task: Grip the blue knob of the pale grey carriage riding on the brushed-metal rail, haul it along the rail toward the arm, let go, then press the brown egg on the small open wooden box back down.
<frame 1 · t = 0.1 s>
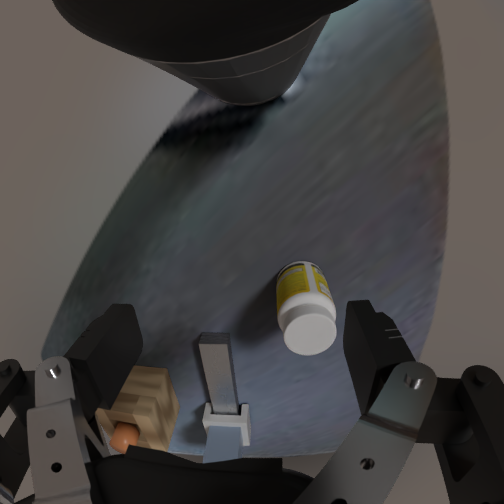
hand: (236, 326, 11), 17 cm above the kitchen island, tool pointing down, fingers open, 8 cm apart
rail: (224, 387, 36), on the kitchen island
carriage: (225, 442, 34), point 5 cm above the kitchen island, slide at 6.0 cm
supplement bottle: (300, 281, 30), on the kitchen island
open wooden box: (146, 386, 37), on the kitchen island
brown egg: (125, 438, 28), point 9 cm above the kitchen island, slide at 2.5 cm
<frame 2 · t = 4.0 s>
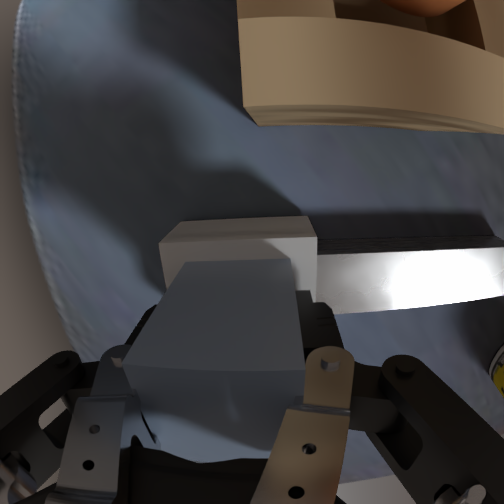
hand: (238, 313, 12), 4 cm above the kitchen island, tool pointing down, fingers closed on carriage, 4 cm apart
rail: (363, 266, 15), on the kitchen island
carriage: (237, 325, 11), point 5 cm above the kitchen island, slide at 6.0 cm, touching gripper
open wooden box: (339, 46, 11), on the kitchen island
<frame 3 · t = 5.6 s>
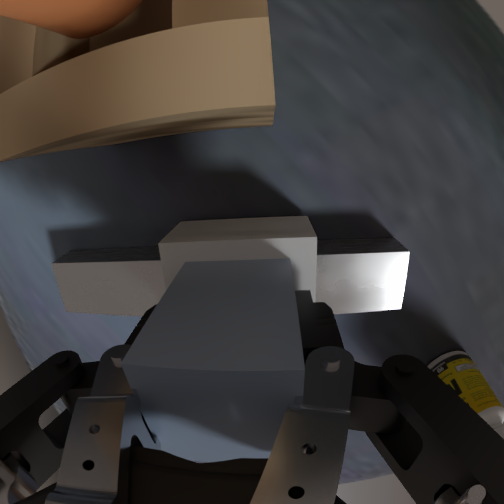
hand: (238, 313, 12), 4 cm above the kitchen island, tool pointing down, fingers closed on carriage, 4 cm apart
rail: (219, 271, 16), on the kitchen island
carriage: (236, 325, 11), point 5 cm above the kitchen island, slide at -1.4 cm, touching gripper
supplement bottle: (441, 372, 18), on the kitchen island
open wooden box: (181, 54, 12), on the kitchen island
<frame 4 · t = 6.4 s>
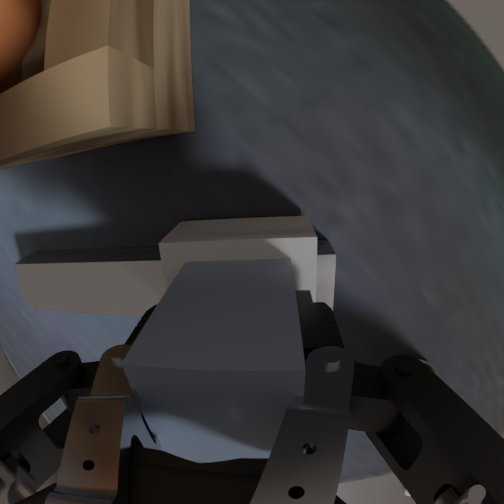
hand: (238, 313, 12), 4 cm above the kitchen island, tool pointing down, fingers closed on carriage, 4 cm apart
rail: (155, 272, 16), on the kitchen island
carriage: (237, 325, 11), point 5 cm above the kitchen island, slide at -5.0 cm, touching gripper
open wooden box: (115, 69, 12), on the kitchen island
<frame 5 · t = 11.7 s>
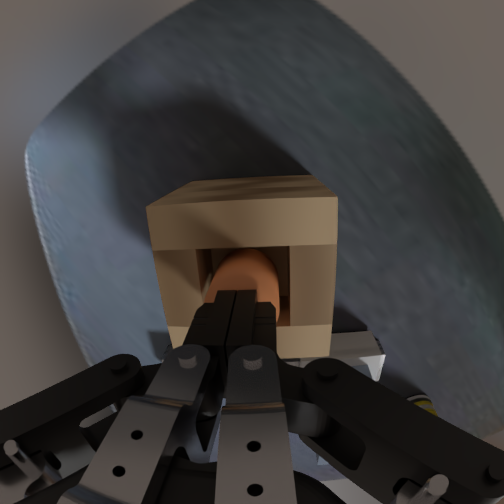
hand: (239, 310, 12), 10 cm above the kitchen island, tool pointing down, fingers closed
rail: (273, 360, 25), on the kitchen island
carriage: (341, 398, 20), point 5 cm above the kitchen island, slide at -5.0 cm
supplement bottle: (410, 406, 27), on the kitchen island
open wooden box: (254, 235, 21), on the kitchen island
brown egg: (244, 292, 13), point 8 cm above the kitchen island, slide at 1.4 cm, touching gripper
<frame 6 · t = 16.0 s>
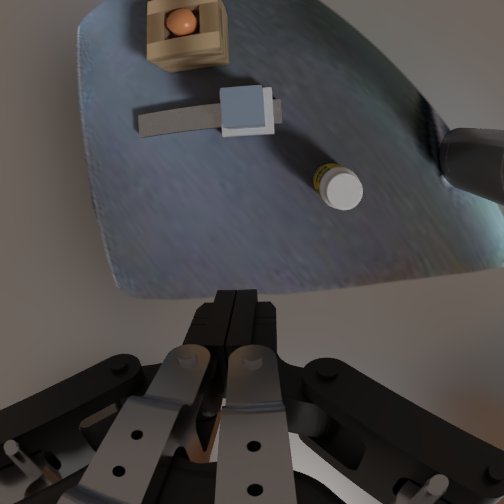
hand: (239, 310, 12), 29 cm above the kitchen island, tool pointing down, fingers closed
rail: (209, 117, 36), on the kitchen island
carriage: (245, 110, 31), point 5 cm above the kitchen island, slide at -5.0 cm
supplement bottle: (330, 180, 38), on the kitchen island
open wooden box: (197, 41, 32), on the kitchen island
brown egg: (183, 24, 26), point 7 cm above the kitchen island, slide at 0.3 cm
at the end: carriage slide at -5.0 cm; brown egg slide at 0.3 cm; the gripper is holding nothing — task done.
